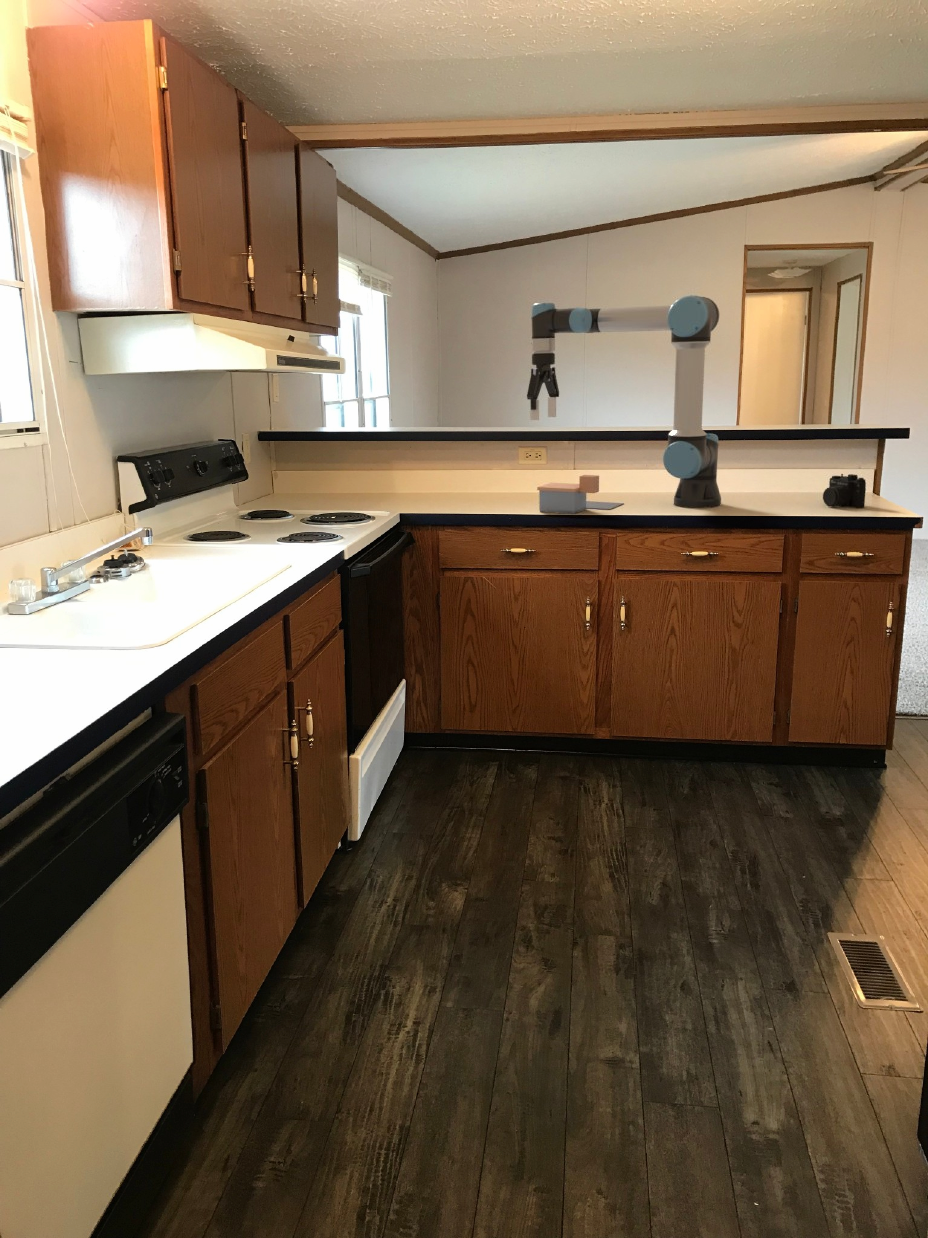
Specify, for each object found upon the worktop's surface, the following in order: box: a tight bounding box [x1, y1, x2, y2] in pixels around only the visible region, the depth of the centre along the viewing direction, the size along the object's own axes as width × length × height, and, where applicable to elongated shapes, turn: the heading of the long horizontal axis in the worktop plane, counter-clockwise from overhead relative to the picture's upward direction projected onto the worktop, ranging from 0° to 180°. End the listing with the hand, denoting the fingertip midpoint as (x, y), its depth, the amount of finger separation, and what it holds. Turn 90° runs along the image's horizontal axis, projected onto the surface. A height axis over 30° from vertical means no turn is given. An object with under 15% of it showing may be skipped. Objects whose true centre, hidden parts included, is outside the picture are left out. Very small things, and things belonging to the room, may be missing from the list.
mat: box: [586, 500, 625, 511], centre depth 328 cm, size 17×13×1 cm
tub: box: [538, 490, 587, 515], centre depth 318 cm, size 12×10×7 cm
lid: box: [536, 474, 600, 494], centre depth 316 cm, size 18×11×5 cm, turn 61°
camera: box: [822, 473, 867, 509], centre depth 314 cm, size 14×11×10 cm
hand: (543, 418), depth 329 cm, fingers open, 13 cm apart
